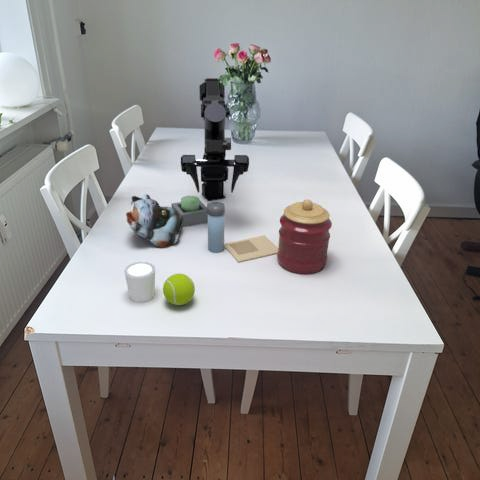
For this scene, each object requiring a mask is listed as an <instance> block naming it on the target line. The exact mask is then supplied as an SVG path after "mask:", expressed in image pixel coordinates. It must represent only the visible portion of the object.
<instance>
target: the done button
mask: <svg viewBox="0 0 480 480" xmlns="http://www.w3.org/2000/svg"><path fill="white" fill-rule="evenodd" d="M199 200H200V197H198V196H196V195H186V196H183V197H181V198H180V202H181V210H182V211H183V212H184V213H186V212H192V211H197V210H199Z"/></svg>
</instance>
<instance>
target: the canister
mask: <svg viewBox="0 0 480 480" xmlns="http://www.w3.org/2000/svg"><path fill="white" fill-rule="evenodd" d="M279 223H280V225H281V226H280V228H279V230H278V235H279V236H278V246H277V247H278V251H277V254H276V255H277V262H278V264H279V265H280V267H282V268H283V269H285V270H286V271H289V272H291V273H296V274H304V275H310V274H316V273H318V272H320V271H322V270H323V269H324V268H325V266H326V264H327V261H328V252H329V250H328V249H329V243H330V239H331V233H330V229H331V228H332V224H333V223H332V220H331V219H330V212H329V211H328V210H327V209H326V208H324V207H323V206H322V205H320V204H319V203H316V202H313V201H312V200H311V199H308V198H307V199H304V200H303V201H299V202H293V203H292V204H290V205H288V206H286V207H285V208H284V209H283V214H282V215H280V218H279Z"/></svg>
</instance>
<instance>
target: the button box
mask: <svg viewBox="0 0 480 480" xmlns="http://www.w3.org/2000/svg"><path fill="white" fill-rule="evenodd" d="M170 207H171V208H173V209H175V210H176V211H177V212H178V214H179V215H181V216H182V217H183V222H182V225H181V227H180V228H186V227H193V226H198V225H203V224H208V213H207V205H205V204H204V202H203V201H201V200H200V199H199V210H197V211H192V212H186V213H184V212H183V211H182V210H181V201H178V202H172V203H171V205H170Z"/></svg>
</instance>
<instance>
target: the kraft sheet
mask: <svg viewBox="0 0 480 480" xmlns="http://www.w3.org/2000/svg"><path fill="white" fill-rule="evenodd" d="M278 247H279V246H277V245H276V244H275V243H274V242H272V241H271V239H269V238H268V237H267V236H266V235H265V234H264V235H260V236H254V237H251V238H249V237H248V238H245V239H240V240H235V241H230V242H226V243H225V242H224V249H226V251H228V253H229V254H230V256H232V257H233V258H234V259H235V261H236V262H237V263H239V264H240V263H242V262H247V261H251V260H252V261H253V260H256V259H261V258H265V257H269V256H273V255H274V256H275V255H277V251H278Z"/></svg>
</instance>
